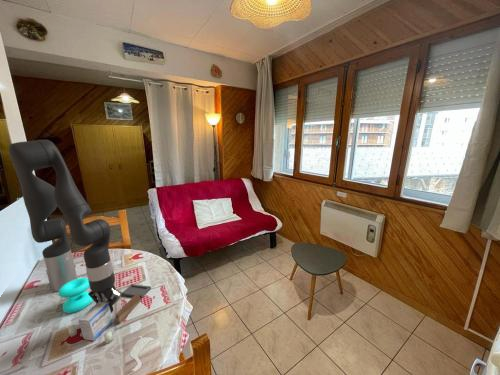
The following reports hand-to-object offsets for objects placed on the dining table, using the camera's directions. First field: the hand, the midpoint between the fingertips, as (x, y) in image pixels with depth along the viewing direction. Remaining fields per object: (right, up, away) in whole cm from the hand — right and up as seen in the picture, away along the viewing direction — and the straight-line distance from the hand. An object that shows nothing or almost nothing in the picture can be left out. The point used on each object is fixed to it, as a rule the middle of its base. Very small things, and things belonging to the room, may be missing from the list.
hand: (109, 313), depth 76 cm
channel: (+1, -2, +5) cm, 5 cm away
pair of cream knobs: (-2, -4, -7) cm, 8 cm away
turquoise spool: (-18, -1, +8) cm, 20 cm away
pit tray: (+2, +1, +14) cm, 14 cm away
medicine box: (-1, -4, -4) cm, 6 cm away
